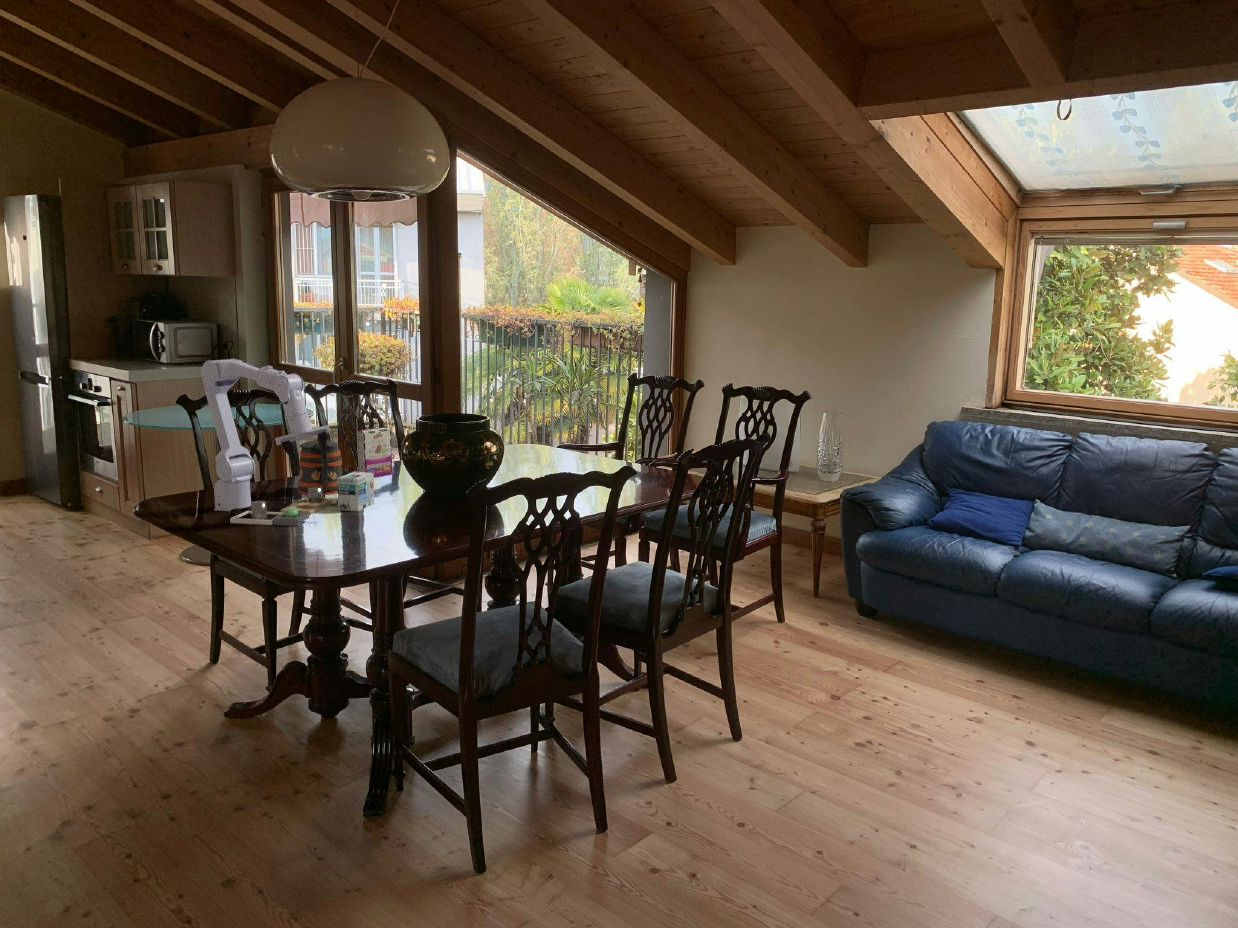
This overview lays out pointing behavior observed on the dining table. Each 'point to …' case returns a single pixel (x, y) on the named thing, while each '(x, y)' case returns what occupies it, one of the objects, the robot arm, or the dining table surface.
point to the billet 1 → (259, 510)
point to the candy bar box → (375, 451)
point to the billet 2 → (315, 494)
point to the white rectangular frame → (253, 521)
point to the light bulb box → (355, 491)
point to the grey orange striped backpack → (319, 467)
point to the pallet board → (310, 505)
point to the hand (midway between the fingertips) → (311, 463)
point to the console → (290, 519)
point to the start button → (291, 513)
